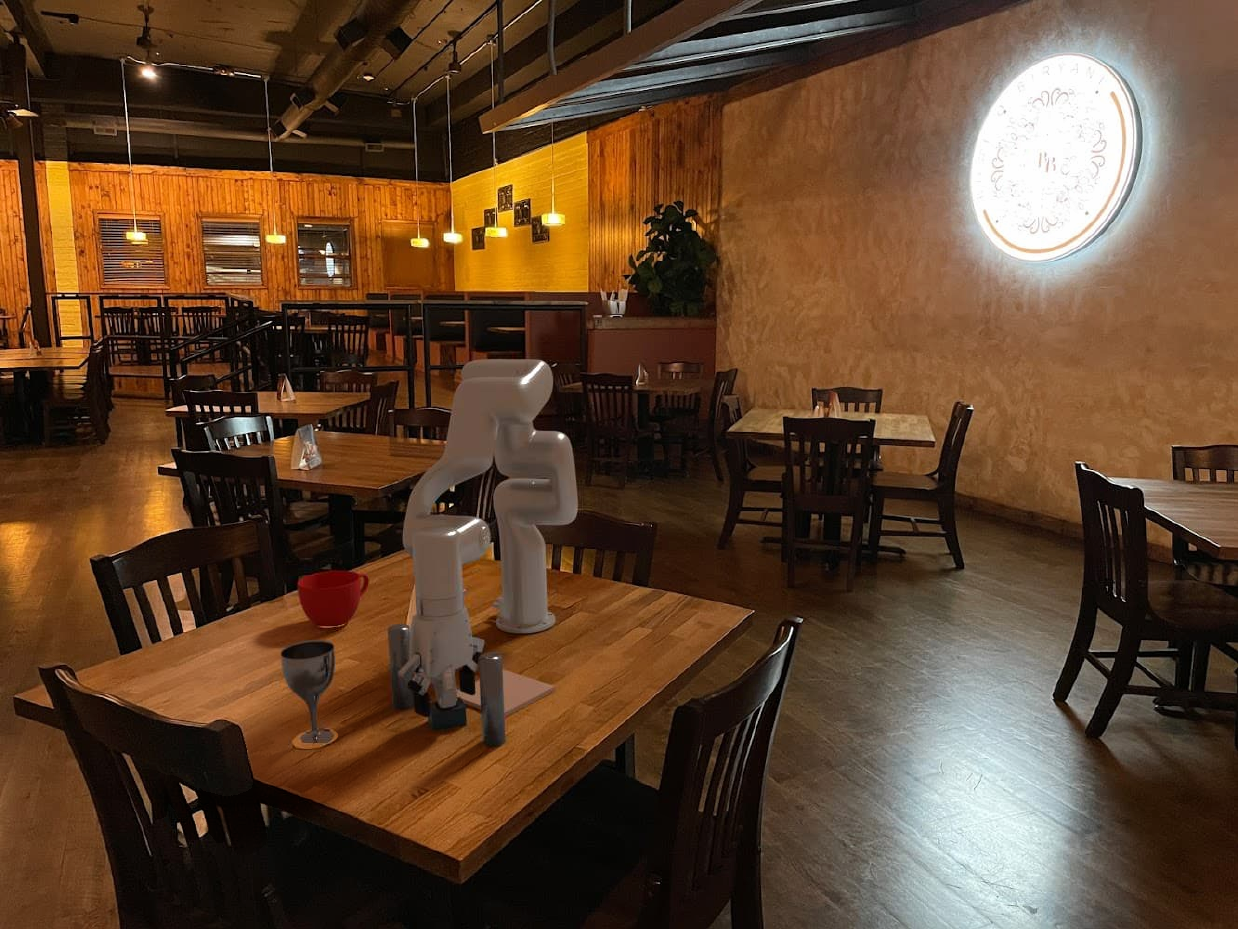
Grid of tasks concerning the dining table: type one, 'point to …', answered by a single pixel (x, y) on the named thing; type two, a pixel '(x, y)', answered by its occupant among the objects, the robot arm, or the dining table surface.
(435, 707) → the watch
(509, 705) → the terracotta tile
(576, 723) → the dining table surface
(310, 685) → the wine glass
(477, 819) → the dining table surface
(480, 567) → the dining table surface
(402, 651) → the metal post
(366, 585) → the ceramic cup
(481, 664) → the metal post
